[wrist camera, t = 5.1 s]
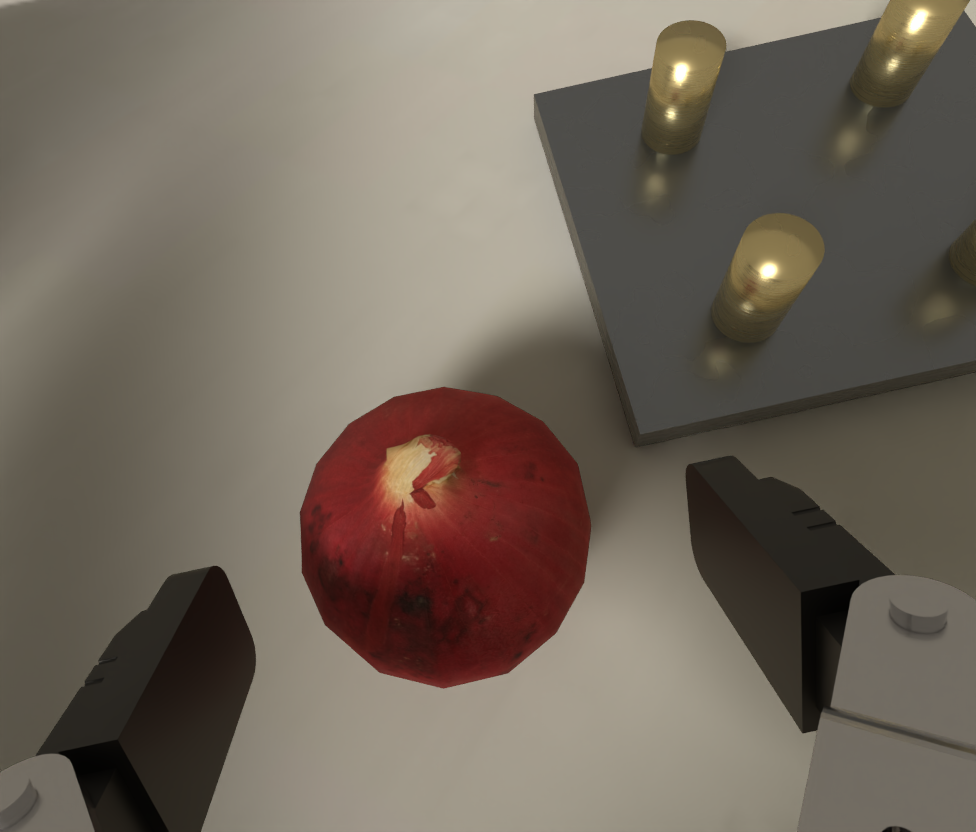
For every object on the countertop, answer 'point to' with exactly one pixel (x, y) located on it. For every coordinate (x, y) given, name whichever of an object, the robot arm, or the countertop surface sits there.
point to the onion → (445, 536)
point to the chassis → (776, 216)
